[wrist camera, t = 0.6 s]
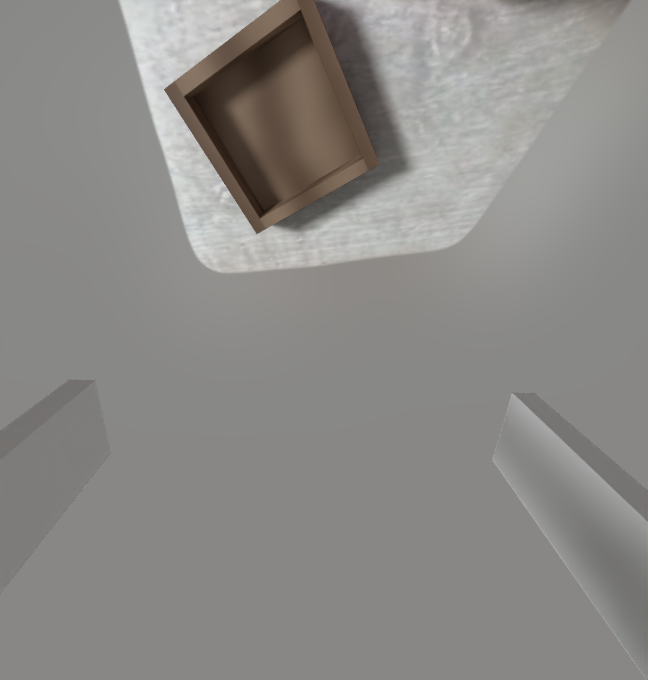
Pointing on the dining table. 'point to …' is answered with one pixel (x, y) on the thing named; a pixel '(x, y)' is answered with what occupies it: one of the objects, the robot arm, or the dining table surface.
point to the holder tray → (276, 114)
